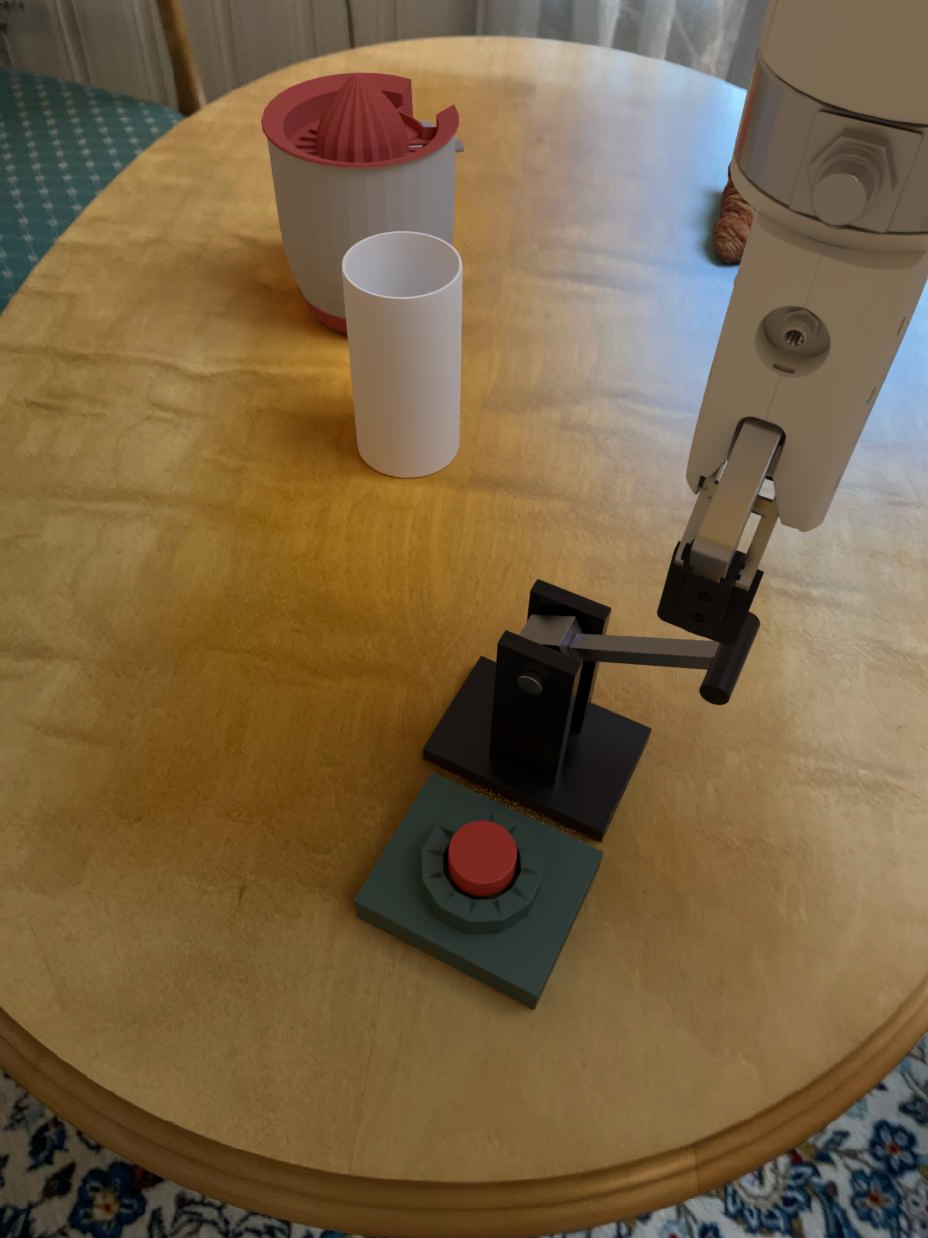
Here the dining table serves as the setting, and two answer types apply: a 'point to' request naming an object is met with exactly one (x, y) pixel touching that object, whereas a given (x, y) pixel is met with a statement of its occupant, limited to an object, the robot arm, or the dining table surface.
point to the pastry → (732, 224)
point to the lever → (651, 651)
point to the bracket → (542, 725)
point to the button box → (473, 925)
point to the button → (482, 858)
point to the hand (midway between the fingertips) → (733, 546)
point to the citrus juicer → (355, 175)
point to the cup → (405, 350)
